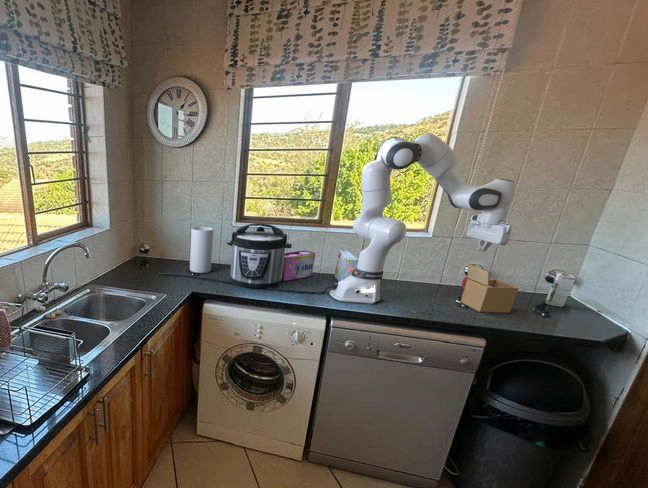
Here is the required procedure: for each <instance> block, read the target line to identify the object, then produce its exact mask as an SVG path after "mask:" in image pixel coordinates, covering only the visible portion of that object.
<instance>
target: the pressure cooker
mask: <svg viewBox="0 0 648 488" xmlns="http://www.w3.org/2000/svg"><path fill="white" fill-rule="evenodd" d="M257 226H258V227H257ZM250 227H257V228H256V230H254V231H251V230H250V231H249V230H248V229H249V228H250ZM265 227H266V228H270V229H271V231H272V232H271V231H265V230H266V228H265ZM247 230H248V231H247ZM226 245H227V246H230V247H231V259H230V260H231V261H230V279H231V282H234V283H236V284H235V285H238V286H241V287H245V288H252V289H263V288H268V287H269V288H275V287H277V286H278V285H279V284H280V283H281V282H282V280H281V279H282V271H283V263H284V255H285V253H286V249H292V248H293V245H292V244H291V243H289V242H288V235H287V233H284V230H282V229H281V228H279V227H278V226H275V225H272V224H268V223H261V222H260V223H259V222H257V223H256V222H255V223H249V224H245V225H243V226H240V227H238V228H237V229H236V230H235V231H233V232H232V233H231V239H229V240H227V241H226Z"/></svg>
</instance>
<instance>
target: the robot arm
mask: <svg viewBox="0 0 648 488" xmlns="http://www.w3.org/2000/svg"><path fill="white" fill-rule="evenodd" d="M379 145H380V146H379V147H378V150H377V152H376V154H375V156H374V160H373V161H370V162H368V163H367V164H365V165H364V166H363V168H362V172H361V198H362V199H361V202H362V206H361V211H360V213H359V215H358V216H357V217H356V218H355V219H354V221H353V224H352V230H353V232H354V233H355V234H356V235H358V236H359V237H361V238H362V239H363V238H364V239H368V240H370V242H369V245H368V246H367V247H365V248H364V249H362V250H361V251H360V252H359V255H358V258H357V259H358V264H357V267H356V268H355V269H353V268H349V269H348V271H349V272H352V275H350V276H349V277H347V278H345V279H343V280H341V281H337V282H336V281H333V282H332V284H331V285H328V286H326V287H325V288H324V290H322V291H319V292H318V291H312V290H310V291H309V290H298V289H297V290H296V289H286V288H285V289H284V288H276V287H270V288H269V287H268V288H262V289H263V290H270V291H279V292H280V291H281V292H288V293H301V294H312V295H314V294H315V295H316V294H317V295H319V294H324V293H326V292H327V290H328V289H330V288H332V290H330V291H329V295H330V296H331V297H332V298H333V299H335V300H337V301H339V302H349V303H358V304H359V303H360V304H361V303H362V304H373V305H374V304H376V302H379V301H381V282H382V280H383V277H384V267H385V263H386V260H387V256H388V255H389V252H390V250H391V249H393V247H394V246H395V245H397V244H398V243H400V242H401V241H402V240H404V238H405V236H406V234H407V225H406V223H404V222H403V221H401V220H400V219H399V220H398V219H396V218H392V217H386V216H384V209H385V208H387V207H388V206H389V205H390V204H391V202H392V186H391V174H392V172H393V170H404V169H407V168H409V167H411V166H412V165H413V164H415V163H417V164H418V165H419V166H420V167H421V168H422V169H423V170H424V171H425V172H427V173H428V175H430V176H431V177H432V178H433V179H434V180H435V181H436V182H437V183H438V185H439V186H440V187H441V188H442V190H444V192H445V193H446V195H447V197H448V200H449V201H448V202H449V203H450V205H451V206H452V207H453V208H455V209H461V210H462V209H464V210H469V211H476V212H477V211H481V213H477V214H473V215H471V217H470V222H469V224H468V226H467V230H466V237H468V238H472V239H475V240H478V241H477V244H478V247H477V250H478V251H480V252H482V253H486V252H488V248H490V247H491V246H492V245H493V244H494V245H498V246H506V245H508V244H509V242H510V239H511V235H512V225H511V223H510V222H509V221H507V220H508V217H509V214H510V208H511V205H512V204H513V203H514V199H515V196H516V194H517V193H516V192H517V183H516V182H515V181H514V180H510V179H505V178H495V179H493V180H492V181H490V182H488V183H486V184H482V185H479V186H477V185H469V184H466V183H464V182H462V181H461V180H460V178H459V177H458V176H457V175H456V174H455V173H454V171H453V170H454V169H455V167H456V166H457V164H458V161H459V158H458V156H457V154H456V152H455V151H454V150H453V149H452V148H451V147H450V146H449V144H447V142H445V141H444V140H443V139H441V138H440V137H439V136H437V135H435V134H433V133H431V132H426V133H423V134H421V135H419V136H417V137H416V138H415V139H414V140H411V141H409V140H407V139H405V138H402V137H399V136H392V137H389V138H386V139H385V140H384V141H383V142H382V143H381V144H379ZM158 274H159V275H162V276H163V275H164V276H175V277H176V276H178V277H186V278H195V279H202V280H208V281H215V282H222V283H226V284H232V285H237V284H236V283H234V282H233V281H230V280H224V279H219V278H213V277H207V276H206V277H205V276H199V275H190V274H182V273H169V272H158Z"/></svg>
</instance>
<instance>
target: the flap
mask: <svg viewBox="0 0 648 488" xmlns="http://www.w3.org/2000/svg"><path fill="white" fill-rule="evenodd" d="M466 277H467V278H470V279H472V280H475V281H477V282H479V283H482V284H484V285H486V286H489V279H490V272H489V271H487V270H485V269H482V268H480V267H476V266H474V265H471V264H467V276H466Z"/></svg>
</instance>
